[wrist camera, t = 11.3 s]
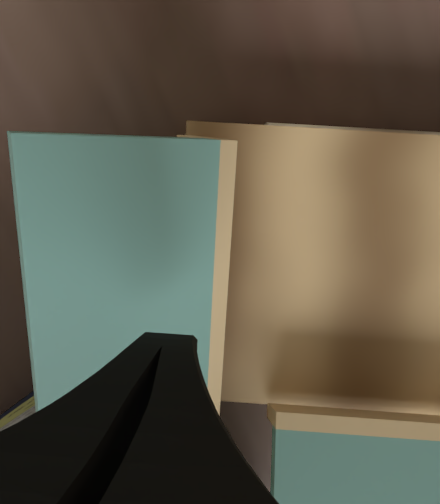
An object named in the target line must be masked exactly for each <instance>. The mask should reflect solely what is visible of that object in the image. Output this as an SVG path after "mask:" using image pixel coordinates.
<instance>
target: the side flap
mask: <svg viewBox="0 0 440 504" xmlns="http://www.w3.org/2000/svg"><path fill="white" fill-rule="evenodd" d="M267 418H268V419H269V421H270V422H271V423H272V425H273V428H272V459H271V491H270V493H271V494H272V496H273V497H274V498H275V499H276V500H277V502H278V503H279V504H440V415H427V414H413V413H399V412H385V411H371V410H358V409H344V408H330V407H316V406H302V405H288V404H274V403H267Z"/></svg>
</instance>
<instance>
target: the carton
mask: <svg viewBox="0 0 440 504" xmlns="http://www.w3.org/2000/svg"><path fill="white" fill-rule="evenodd" d="M186 135H193V136H202V137H211V138H219V139H228V140H237V141H238V143H237V159H236V174H235V189H234V204H233V219H232V234H231V250H230V265H229V280H228V295H227V310H226V325H225V341H224V356H223V371H222V386H221V401H229V402H243V403H257V404H267V403H274V404H288V405H302V406H316V407H330V408H344V409H358V410H371V411H385V412H399V413H413V414H427V415H440V132H426V131H408V130H391V129H374V128H356V127H339V126H321V125H304V124H286V123H269V122H267V123H264V125H256V124H239V123H221V122H204V121H187V120H186Z"/></svg>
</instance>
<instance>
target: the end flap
mask: <svg viewBox="0 0 440 504" xmlns="http://www.w3.org/2000/svg"><path fill="white" fill-rule="evenodd" d="M7 137H8V146H9V156H10V166H11V175H12V185H13V195H14V205H15V214H16V224H17V234H18V244H19V253H20V263H21V273H22V283H23V292H24V302H25V312H26V321H27V331H28V341H29V351H30V360H31V370H32V380H33V390H34V399H35V409H36V412H37V411H39V410H41V409H42V408H44V407H46V406H48V405H49V404H51V403H52V402H54V401H56V400H57V399H59V398H60V397H62V396H63V395H65V394H67V393H68V392H69V391H71V390H72V389H74V388H75V387H76V386H78V385H79V384H81V383H82V382H83V381H85V380H86V379H88V378H89V377H90V376H92V375H93V374H95V373H96V372H97V371H99V370H100V369H101V368H102V367H104V366H105V365H106V364H107V363H109V362H110V361H111V360H112V359H114V358H115V357H116V356H117V355H118V354H120V353H121V352H122V351H123V350H124V349H125V348H127V347H128V346H129V345H130V344H131V343H133V342H134V341H135V340H136V339H137V338H139V337H140V336H141V335H142V334H144V333H145V332H154V333H169V334H183V335H194V336H195V337H196V339H197V340H198V343H197V354H198V359H199V364H200V368H201V371H202V374H203V377H204V380H205V383H206V386H207V389H208V391H209V394H210V396H211V399H212V401H213V403H214V405H215V408H216V410H217V412H218V414H219V416H220V401H221V386H222V371H223V356H224V341H225V325H226V310H227V295H228V280H229V265H230V250H231V234H232V219H233V204H234V189H235V174H236V159H237V143H238V141H237V140H228V139H219V138H211V137H202V136H193V135H177V137H161V136H134V135H106V134H78V133H51V132H23V131H7Z"/></svg>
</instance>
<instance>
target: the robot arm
mask: <svg viewBox="0 0 440 504" xmlns="http://www.w3.org/2000/svg"><path fill="white" fill-rule="evenodd" d="M197 343H198V340H197V339H196V337H195V336H194V335H183V334H169V333H154V332H145V333H144V334H142V335H141V336H140V337H139V338H137V339H136V340H135V341H134V342H133V343H131V344H130V345H129V346H128V347H127V348H125V349H124V350H123V351H122V352H121V353H120V354H118V355H117V356H116V357H115V358H114V359H112V360H111V361H110V362H109V363H107V364H106V365H105V366H104V367H102V368H101V369H100V370H99V371H97V372H96V373H95V374H93V375H92V376H90V377H89V378H88V379H86V380H85V381H83V382H82V383H81V384H79V385H78V386H76V387H75V388H74V389H72V390H71V391H69V392H68V393H67V394H65V395H63V396H62V397H60V398H59V399H57V400H56V401H54V402H52V403H51V404H49V405H48V406H46V407H44V408H42V409H41V410H39V411H37V412H36V413H34V414H32V415H30V416H29V417H27V418H25V419H23V420H22V421H20V422H18V423H16V424H14V425H12V426H10V427H8V428H6V429H4V430H2V431H0V504H279V503H278V502H277V500H276V499H275V498H274V497H273V496H272V494H271V493H270V492H269V491H268V490H267V488H266V487H265V486H264V484H263V483H262V481H261V480H260V479H259V477H258V476H257V475H256V473H255V472H254V471H253V469H252V468H251V467H250V465H249V464H248V463H247V461H246V460H245V458H244V457H243V456H242V454H241V452H240V451H239V449H238V448H237V446H236V444H235V443H234V441H233V440H232V438H231V436H230V434H229V433H228V431H227V429H226V427H225V426H224V424H223V422H222V420H221V418H220V416H219V414H218V412H217V410H216V408H215V405H214V403H213V401H212V399H211V396H210V394H209V391H208V389H207V386H206V383H205V380H204V377H203V374H202V371H201V368H200V364H199V359H198V354H197Z"/></svg>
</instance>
